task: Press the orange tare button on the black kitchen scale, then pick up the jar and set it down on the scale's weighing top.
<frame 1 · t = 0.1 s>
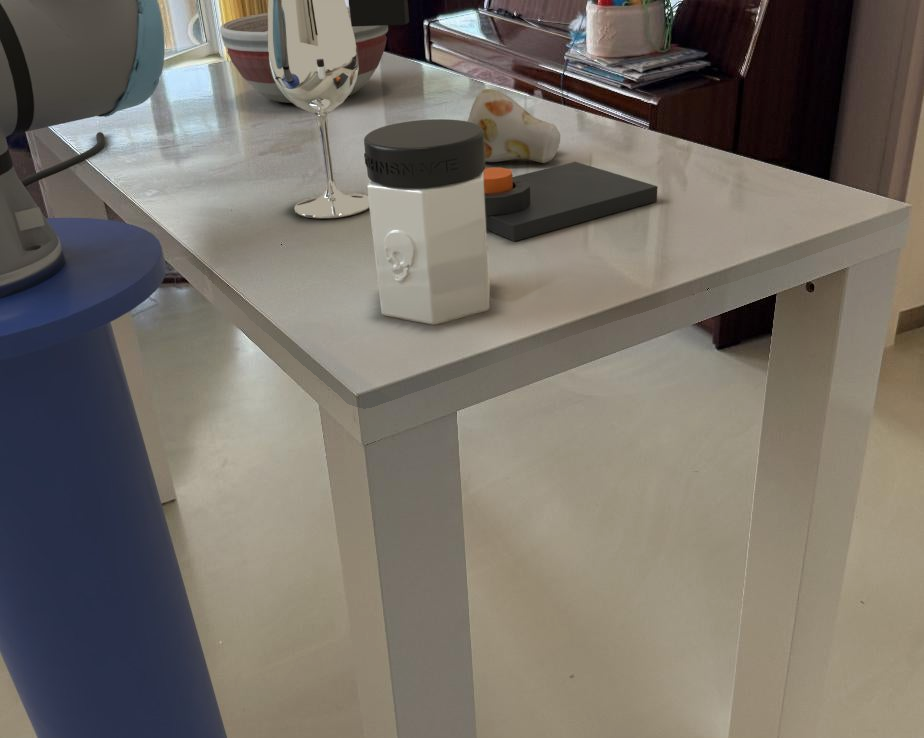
hand: (413, 5, 53), 21 cm above the table, tool pointing down, fingers open, 13 cm apart
tare button: (492, 182, 85), point 3 cm above the table, slide at 0.1 cm
scale: (547, 205, 90), on the table
fruit sandwich: (514, 162, 104), on the table
bowl: (314, 98, 139), on the table
jar: (437, 304, 72), on the table
wineglass: (334, 209, 94), on the table
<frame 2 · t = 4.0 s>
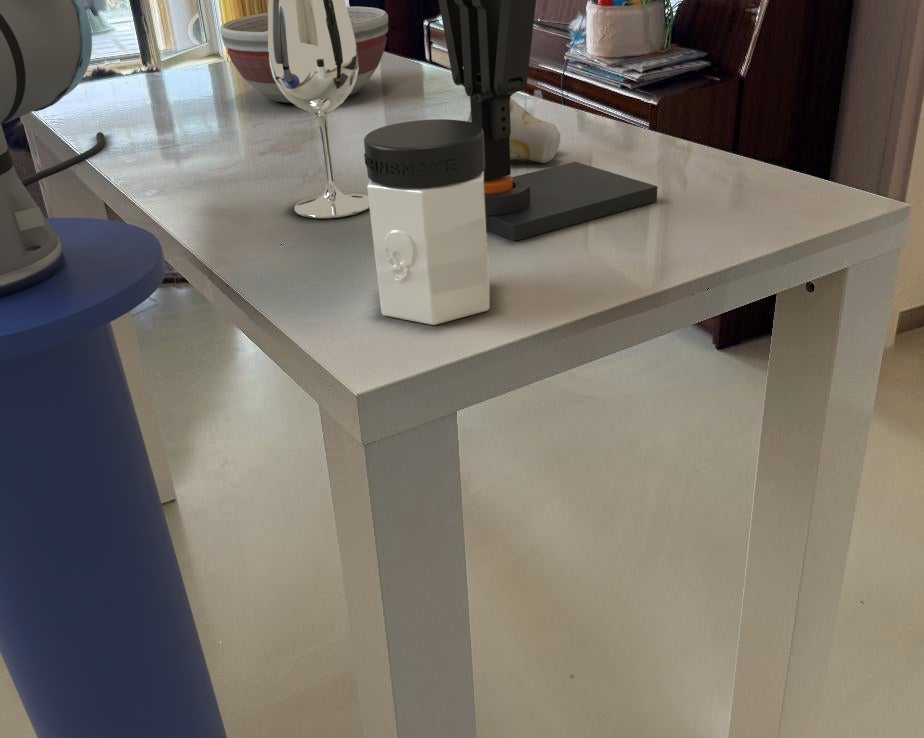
hand: (493, 175, 85), 4 cm above the table, tool pointing down, fingers closed
tare button: (492, 187, 86), point 3 cm above the table, slide at -0.4 cm, touching gripper
everything else where it was.
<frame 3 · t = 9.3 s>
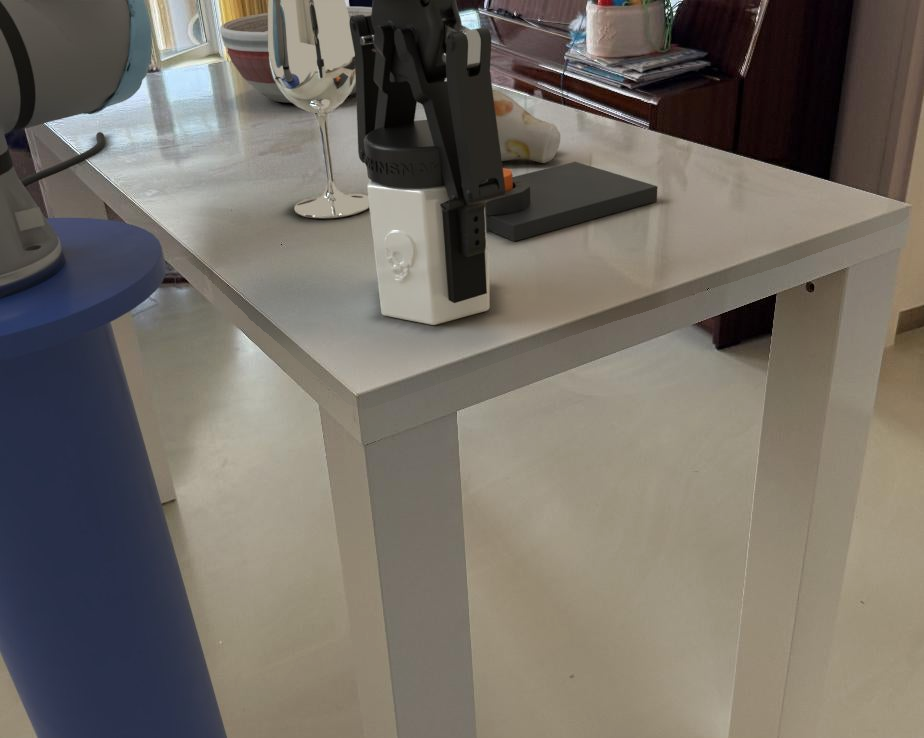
hand: (435, 279, 71), 2 cm above the table, tool pointing down, fingers closed on jar, 8 cm apart
tare button: (492, 182, 85), point 3 cm above the table, slide at 0.1 cm
jar: (437, 304, 72), on the table, touching gripper
everything else where it was.
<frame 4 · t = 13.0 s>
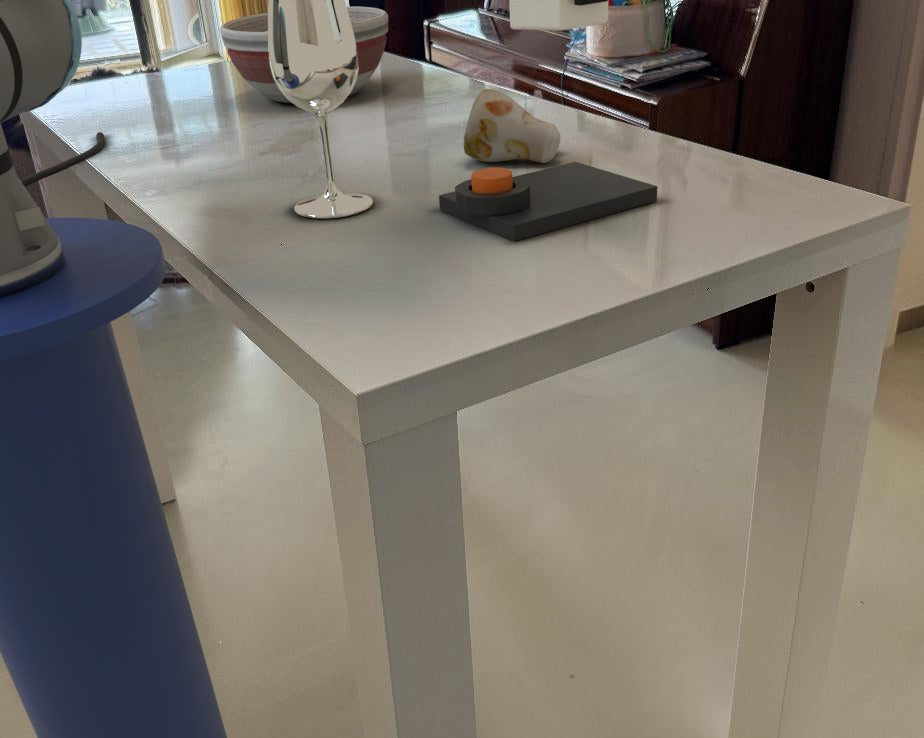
jar: (557, 25, 80), point 15 cm above the table, touching gripper
everything else where it was.
when the fingers open (3 cm above the table, at t = 16.9 s): jar stays where it is, resting on scale.
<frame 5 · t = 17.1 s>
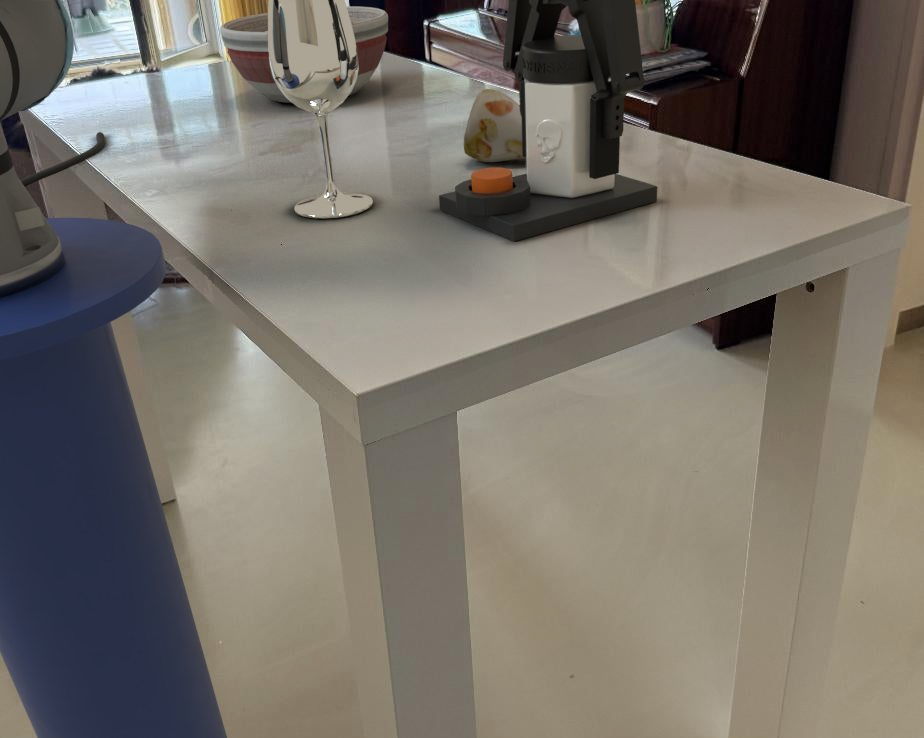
hand: (568, 164, 89), 3 cm above the table, tool pointing down, fingers open, 9 cm apart
jar: (569, 186, 90), point 1 cm above the table, touching scale
everything else where it was.
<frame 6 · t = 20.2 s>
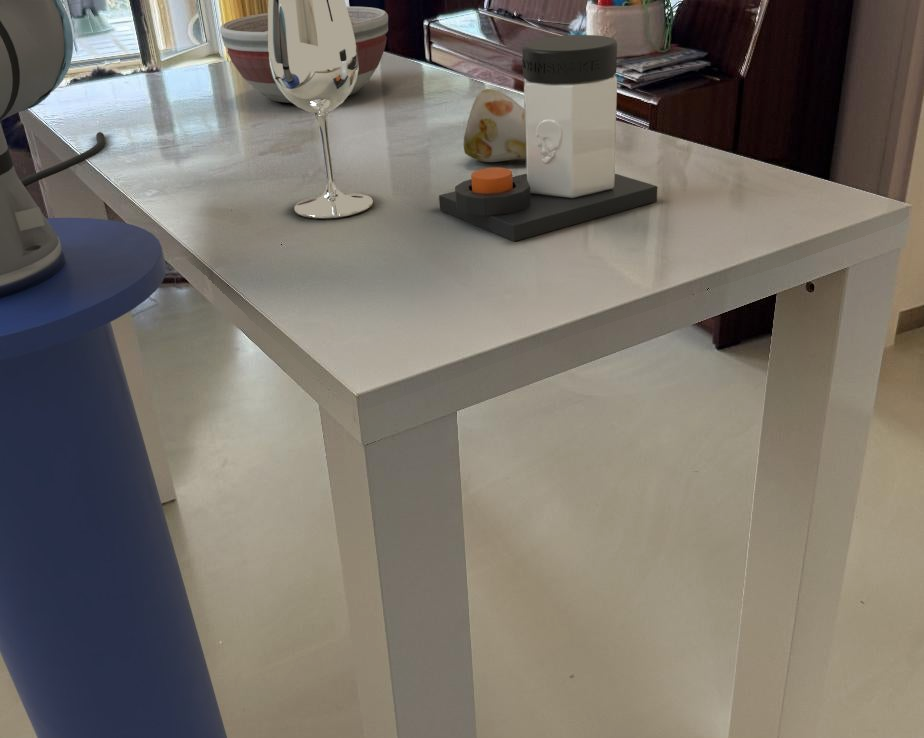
nothing on the table moved.
at the end: tare button pushed in 0.8 cm at the most during the clip, back to where it started at the end; jar inside the target area on the scale (0.2 cm from its centre), point 1.2 cm above the scale's base; jar touching scale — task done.
